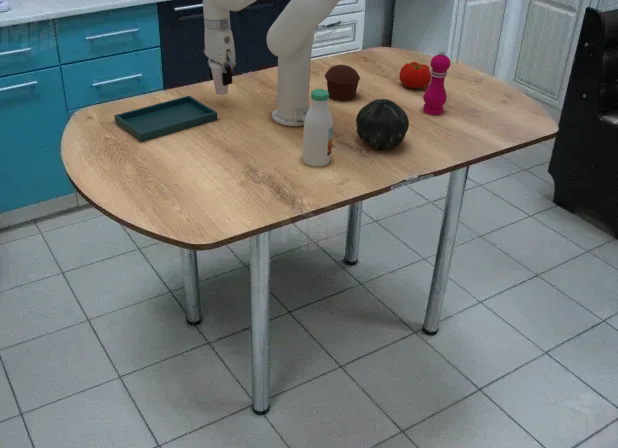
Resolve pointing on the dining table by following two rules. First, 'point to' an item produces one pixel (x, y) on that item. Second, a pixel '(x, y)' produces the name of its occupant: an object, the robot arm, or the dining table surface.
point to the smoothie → (218, 77)
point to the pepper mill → (436, 85)
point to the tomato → (415, 75)
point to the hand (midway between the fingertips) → (221, 80)
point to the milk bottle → (318, 130)
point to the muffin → (342, 82)
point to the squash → (382, 124)
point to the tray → (165, 118)
